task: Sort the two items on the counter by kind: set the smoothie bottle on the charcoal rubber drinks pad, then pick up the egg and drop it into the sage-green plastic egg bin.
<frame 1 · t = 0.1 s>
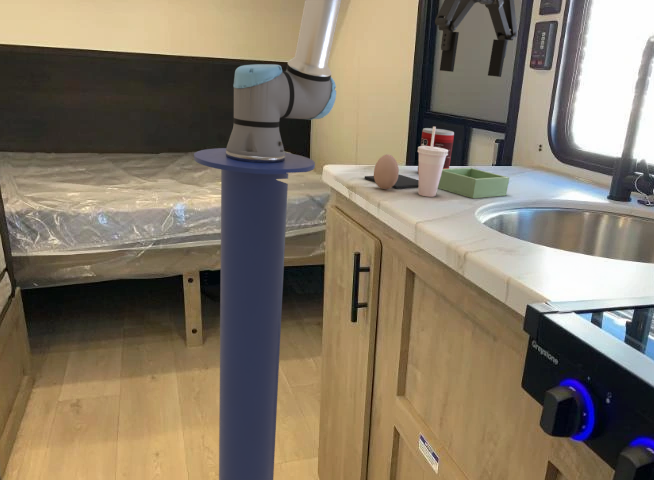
hand: (471, 74, 112), 25 cm above the countertop, tool pointing down, fingers open, 13 cm apart
egg: (384, 190, 129), on the countertop
smoothie: (426, 195, 128), on the countertop
drinks pad: (397, 182, 137), on the countertop
egg bin: (470, 191, 136), on the countertop
canned food: (432, 175, 152), on the countertop
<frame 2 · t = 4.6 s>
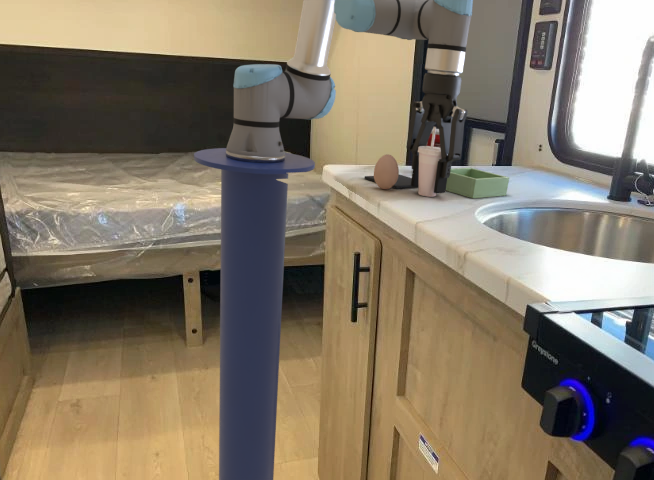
hand: (427, 189, 127), 1 cm above the countertop, tool pointing down, fingers closed on smoothie, 6 cm apart
smoothie: (426, 195, 128), on the countertop, touching gripper
everything else where it was.
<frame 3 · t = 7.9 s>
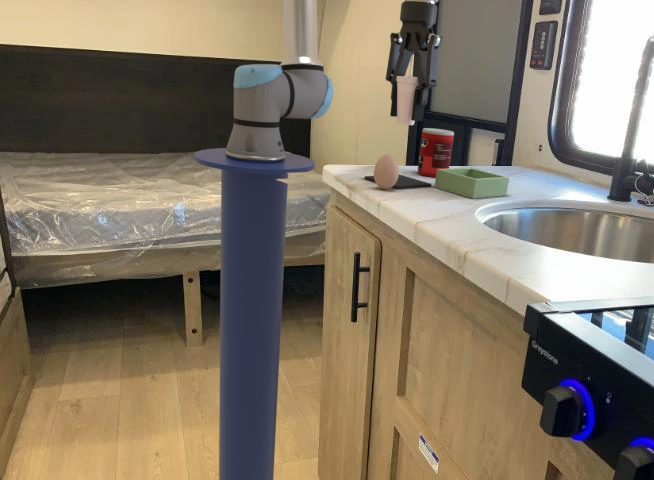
hand: (406, 118, 132), 14 cm above the countertop, tool pointing down, fingers closed on smoothie, 6 cm apart
smoothie: (405, 124, 132), point 13 cm above the countertop, touching gripper
everything else where it was.
when the fingers open (2 cm above the countertop, at t = 11.0 s): smoothie stays where it is, resting on drinks pad.
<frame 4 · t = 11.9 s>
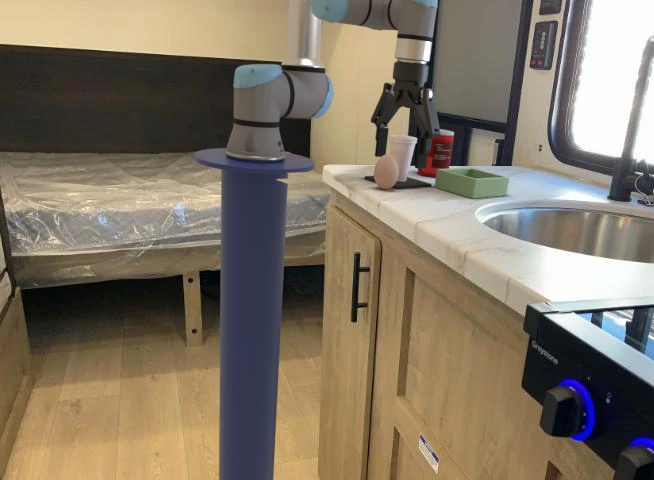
hand: (399, 162, 136), 5 cm above the countertop, tool pointing down, fingers open, 13 cm apart
smoothie: (398, 180, 137), resting on drinks pad
everything else where it was.
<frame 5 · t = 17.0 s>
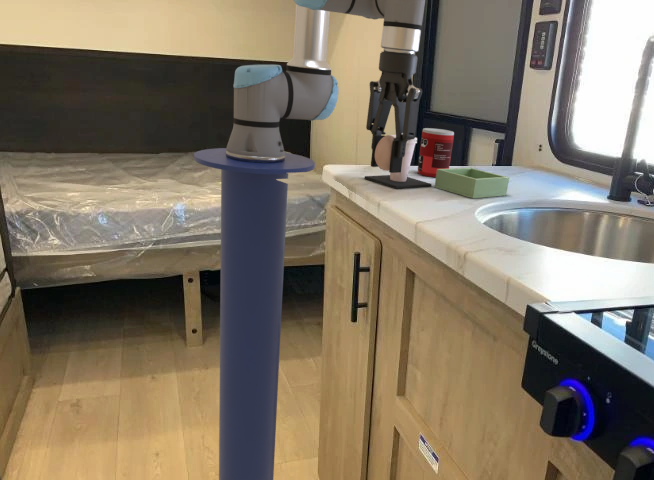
hand: (385, 169, 127), 4 cm above the countertop, tool pointing down, fingers closed on egg, 5 cm apart
egg: (385, 171, 128), point 4 cm above the countertop, touching gripper
everything else where it was.
when the fingers open (1 cm above the countertop, at t = 23.0 s): egg stays where it is, resting on egg bin.
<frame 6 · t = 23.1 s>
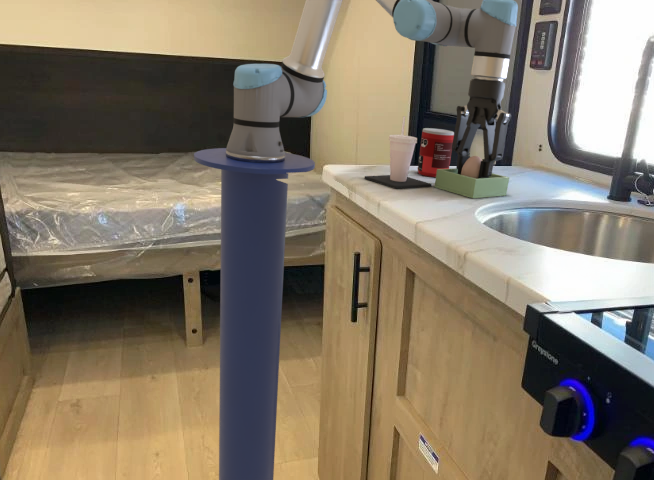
hand: (470, 187, 136), 1 cm above the countertop, tool pointing down, fingers open, 5 cm apart
egg: (470, 189, 136), resting on egg bin
everything else where it was.
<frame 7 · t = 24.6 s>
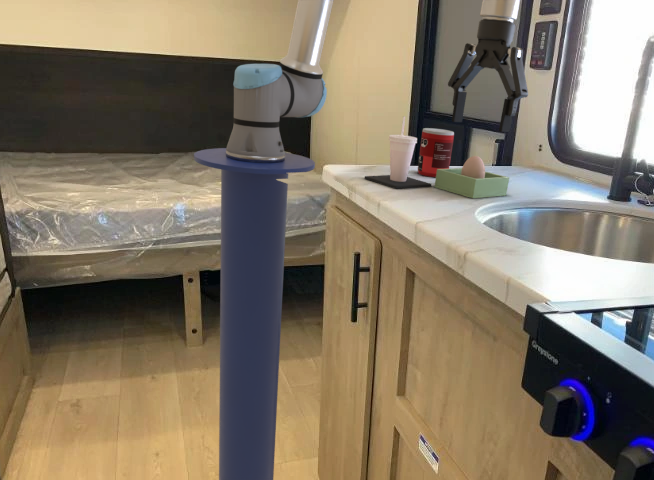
hand: (479, 126, 131), 14 cm above the countertop, tool pointing down, fingers open, 13 cm apart
nothing on the countertop moved.
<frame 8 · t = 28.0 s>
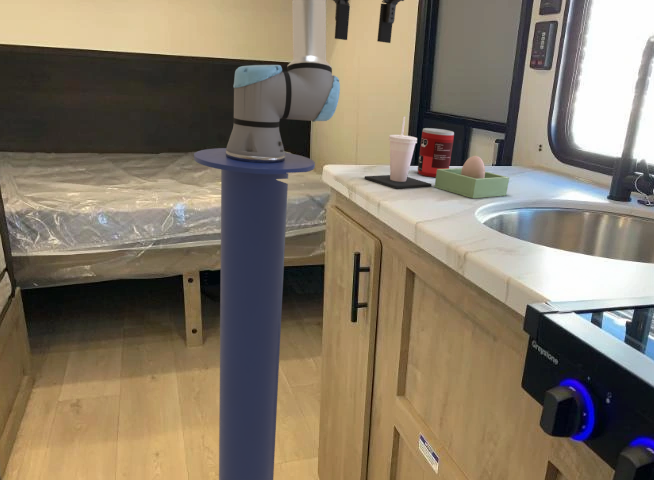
hand: (361, 40, 119), 29 cm above the countertop, tool pointing down, fingers open, 13 cm apart
nothing on the countertop moved.
at the end: smoothie inside the target area on the drinks pad (0.0 cm from its centre), point 0.4 cm above the drinks pad's base; smoothie tilted 0°; egg inside the target area in the egg bin (0.0 cm from its centre), point 0.4 cm above the egg bin's base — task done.
